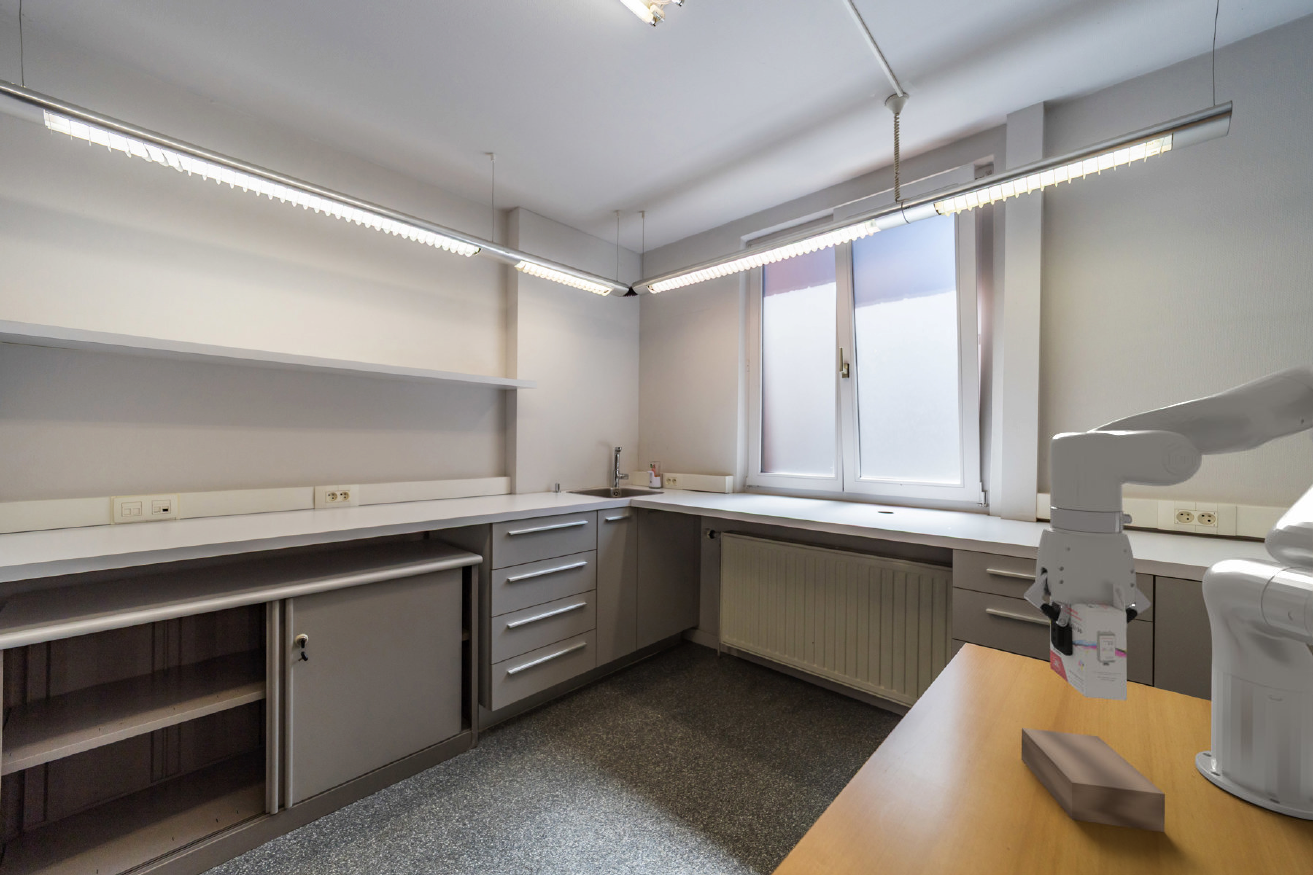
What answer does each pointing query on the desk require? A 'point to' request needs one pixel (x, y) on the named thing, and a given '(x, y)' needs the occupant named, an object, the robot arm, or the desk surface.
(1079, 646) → the ink cartridge box
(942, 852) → the desk surface
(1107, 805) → the walnut block
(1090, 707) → the desk surface
